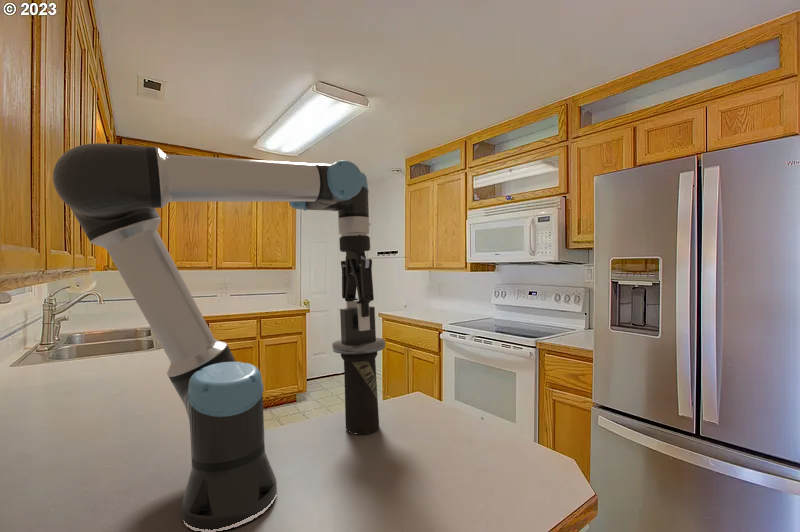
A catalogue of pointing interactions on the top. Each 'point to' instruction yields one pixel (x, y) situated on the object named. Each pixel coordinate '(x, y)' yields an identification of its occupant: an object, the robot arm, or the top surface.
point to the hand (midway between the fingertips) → (358, 328)
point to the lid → (357, 334)
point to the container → (361, 393)
